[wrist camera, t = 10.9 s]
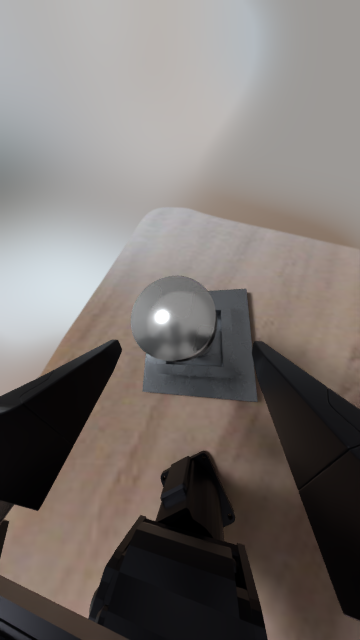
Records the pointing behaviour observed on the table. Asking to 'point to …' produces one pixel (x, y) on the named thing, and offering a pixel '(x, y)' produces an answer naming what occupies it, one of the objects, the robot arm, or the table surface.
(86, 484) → the table surface
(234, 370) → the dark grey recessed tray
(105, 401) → the table surface
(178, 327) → the silver banded cylinder
